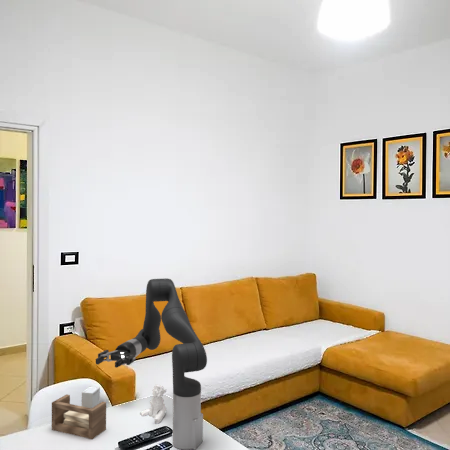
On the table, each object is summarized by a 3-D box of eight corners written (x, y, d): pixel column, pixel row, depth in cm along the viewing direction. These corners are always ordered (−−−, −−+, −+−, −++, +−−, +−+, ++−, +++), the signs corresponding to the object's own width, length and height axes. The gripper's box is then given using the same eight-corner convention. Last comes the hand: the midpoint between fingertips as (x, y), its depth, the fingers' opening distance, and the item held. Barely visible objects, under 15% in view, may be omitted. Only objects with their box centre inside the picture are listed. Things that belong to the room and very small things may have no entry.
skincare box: (92, 426, 163) (92, 393, 163) (81, 425, 164) (81, 392, 164) (100, 419, 169) (100, 386, 169) (89, 417, 170) (89, 385, 170)
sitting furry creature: (138, 417, 171) (138, 385, 170) (154, 409, 178) (154, 378, 177) (157, 424, 165) (157, 391, 165) (173, 416, 173) (173, 384, 172)
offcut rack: (106, 432, 159) (106, 402, 159) (92, 442, 152) (92, 411, 152) (66, 423, 166) (66, 394, 165) (51, 432, 159) (51, 402, 158)
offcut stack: (99, 428, 160) (99, 414, 160) (90, 435, 155) (90, 421, 155) (71, 422, 164) (71, 409, 164) (61, 428, 159) (61, 414, 159)
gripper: (114, 339, 192) (90, 351, 177) (144, 343, 187) (122, 356, 172) (114, 356, 193) (90, 370, 177) (143, 361, 188) (122, 375, 173)
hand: (106, 363), depth 175 cm, fingers open, 8 cm apart
